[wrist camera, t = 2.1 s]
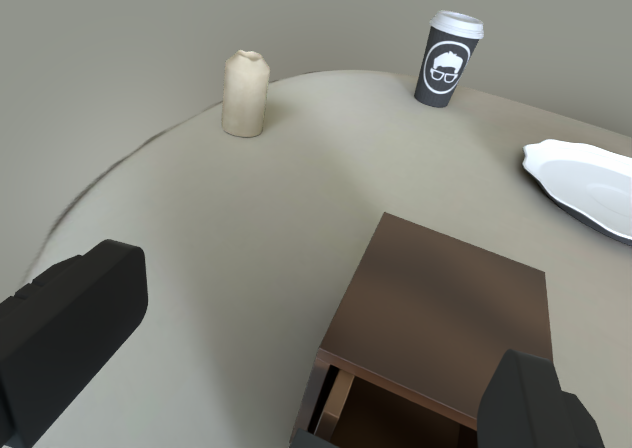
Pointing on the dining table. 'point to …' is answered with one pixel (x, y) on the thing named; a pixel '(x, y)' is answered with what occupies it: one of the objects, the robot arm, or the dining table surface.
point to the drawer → (380, 421)
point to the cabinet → (429, 322)
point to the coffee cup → (446, 56)
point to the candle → (245, 94)
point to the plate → (585, 184)
